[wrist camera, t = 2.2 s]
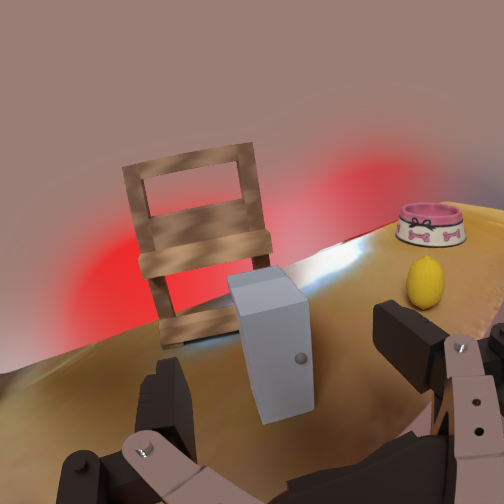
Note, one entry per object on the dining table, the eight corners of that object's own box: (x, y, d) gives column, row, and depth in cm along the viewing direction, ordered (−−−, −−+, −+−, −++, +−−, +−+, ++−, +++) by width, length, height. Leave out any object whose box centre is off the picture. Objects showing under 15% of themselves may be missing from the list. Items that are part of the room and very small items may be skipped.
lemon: (402, 300, 41) (404, 249, 39) (436, 299, 39) (441, 247, 37) (407, 320, 36) (411, 264, 34) (444, 318, 34) (451, 262, 32)
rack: (162, 351, 39) (113, 168, 31) (164, 327, 45) (124, 167, 37) (285, 325, 41) (261, 140, 34) (273, 304, 47) (250, 143, 40)
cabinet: (264, 429, 24) (242, 320, 21) (246, 373, 33) (226, 276, 29) (316, 414, 25) (311, 303, 21) (289, 363, 33) (277, 265, 30)
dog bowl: (472, 231, 63) (473, 205, 61) (455, 254, 53) (456, 221, 51) (412, 222, 77) (412, 198, 75) (382, 241, 67) (381, 212, 65)
